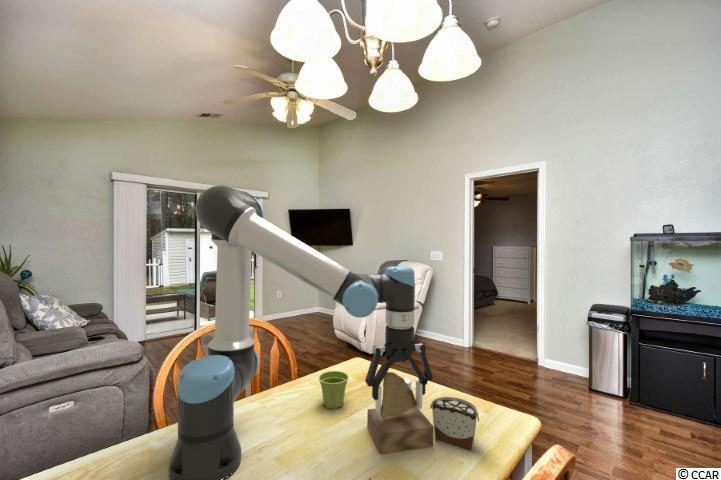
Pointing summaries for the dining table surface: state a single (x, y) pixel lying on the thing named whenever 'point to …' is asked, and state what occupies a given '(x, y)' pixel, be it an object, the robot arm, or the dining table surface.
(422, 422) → the walnut block
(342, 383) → the plant pot
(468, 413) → the food container
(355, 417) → the dining table surface
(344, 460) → the dining table surface
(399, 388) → the rock
